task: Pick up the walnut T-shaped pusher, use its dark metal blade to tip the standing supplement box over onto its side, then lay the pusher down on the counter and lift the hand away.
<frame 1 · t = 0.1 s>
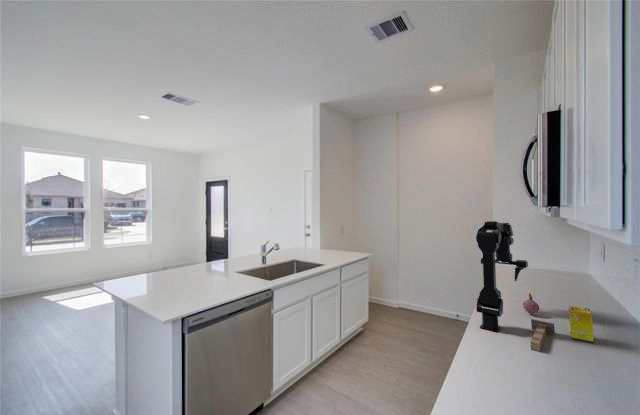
hand: (504, 279, 132), 15 cm above the countertop, tool pointing down, fingers open, 9 cm apart
supplement box: (581, 339, 100), on the countertop
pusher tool: (538, 342, 99), on the countertop
vegetable: (531, 315, 124), on the countertop
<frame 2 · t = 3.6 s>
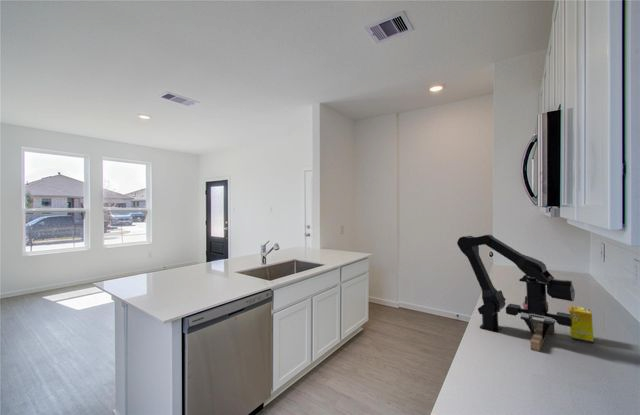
hand: (538, 337, 99), 2 cm above the countertop, tool pointing down, fingers closed on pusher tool, 2 cm apart
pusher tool: (538, 341, 99), on the countertop, touching gripper
everything else where it was.
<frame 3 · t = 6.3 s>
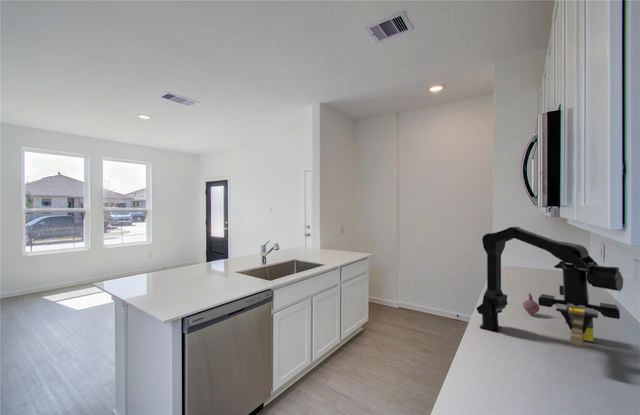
hand: (577, 331, 87), 9 cm above the countertop, tool pointing down, fingers closed on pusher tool, 2 cm apart
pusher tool: (577, 336, 87), point 7 cm above the countertop, touching gripper
everything else where it was.
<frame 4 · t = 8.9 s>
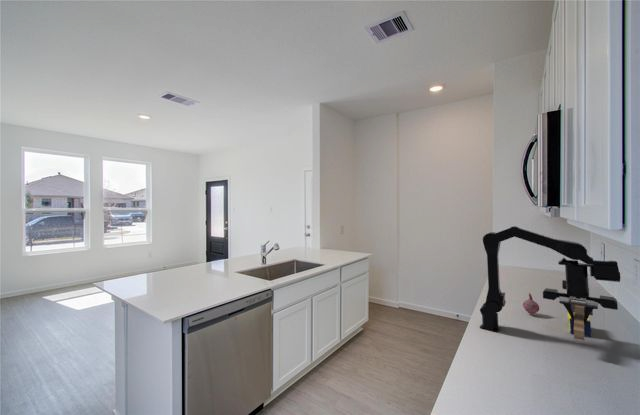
hand: (579, 322, 95), 8 cm above the countertop, tool pointing down, fingers closed on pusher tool, 2 cm apart
supplement box: (580, 327, 103), point 3 cm above the countertop
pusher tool: (579, 326, 95), point 7 cm above the countertop, tilted 8°, touching gripper
everything else where it was.
when the fingers open (3 cm above the countertop, at t = 13.5 s): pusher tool drops 2 cm, on the countertop.
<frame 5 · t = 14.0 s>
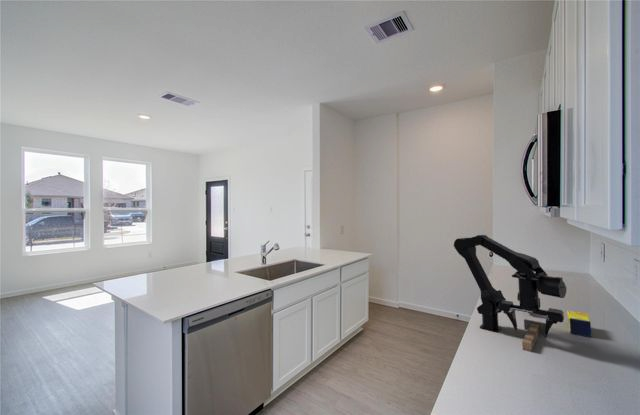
hand: (530, 333, 99), 3 cm above the countertop, tool pointing down, fingers open, 8 cm apart
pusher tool: (531, 342, 99), on the countertop
everything else where it was.
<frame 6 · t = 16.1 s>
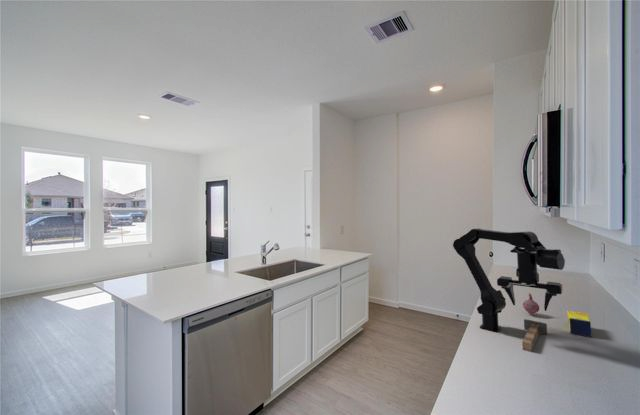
hand: (529, 307, 99), 12 cm above the countertop, tool pointing down, fingers open, 9 cm apart
nothing on the countertop moved.
at the end: supplement box tilted 90°; the gripper is holding nothing; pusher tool on the countertop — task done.
